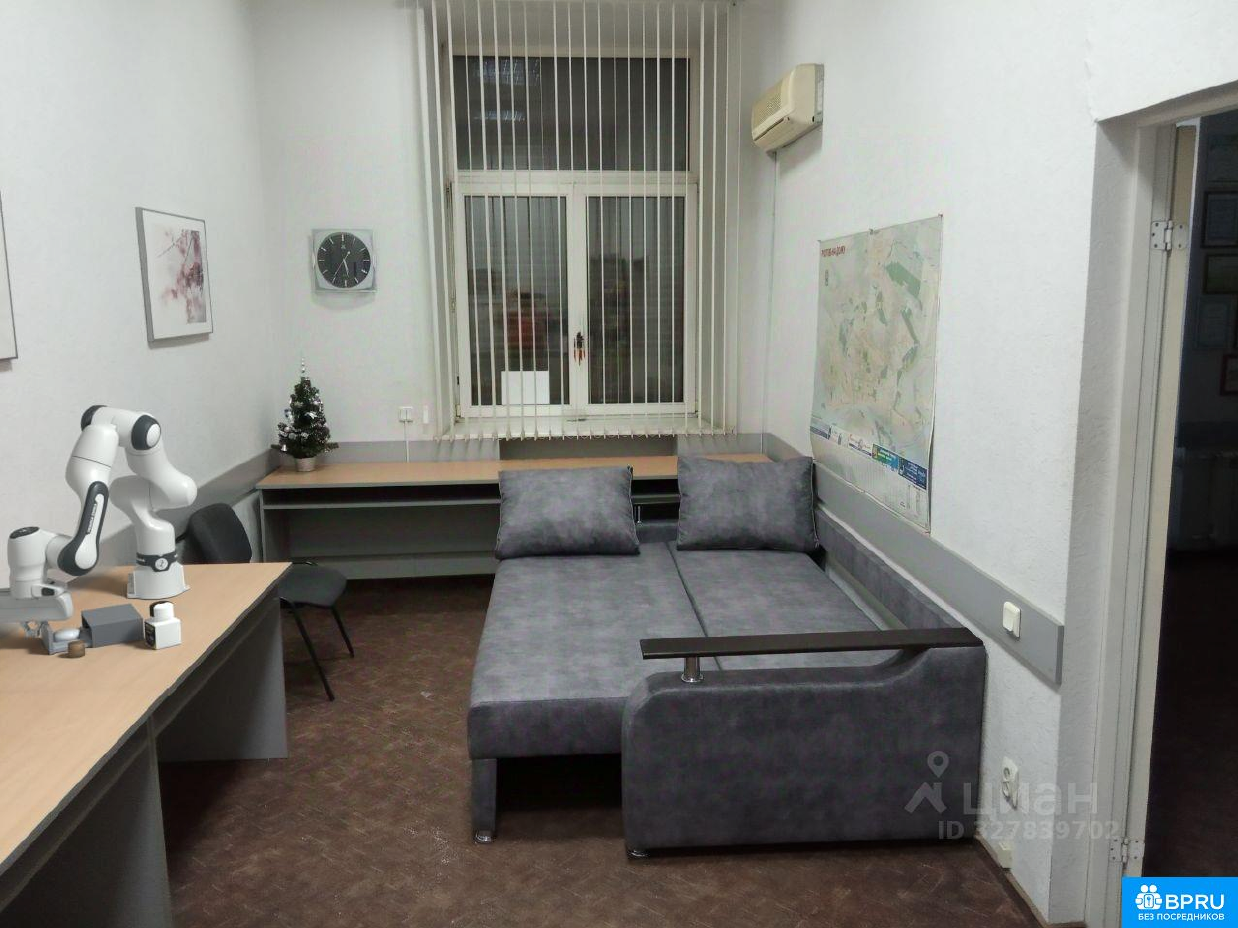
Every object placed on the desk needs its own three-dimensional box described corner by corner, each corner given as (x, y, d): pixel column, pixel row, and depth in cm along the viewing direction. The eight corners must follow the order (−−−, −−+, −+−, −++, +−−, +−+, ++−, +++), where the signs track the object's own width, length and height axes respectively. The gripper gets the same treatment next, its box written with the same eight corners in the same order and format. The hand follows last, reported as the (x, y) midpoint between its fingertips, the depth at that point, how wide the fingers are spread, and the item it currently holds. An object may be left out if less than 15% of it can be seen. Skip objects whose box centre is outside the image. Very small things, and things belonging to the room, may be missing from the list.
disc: (52, 637, 277) (52, 630, 277) (78, 633, 281) (78, 626, 280) (54, 644, 272) (54, 637, 272) (81, 640, 276) (80, 633, 275)
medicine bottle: (145, 643, 278) (142, 602, 276) (170, 637, 283) (168, 597, 281) (155, 650, 273) (153, 608, 271) (181, 644, 278) (179, 602, 276)
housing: (82, 631, 286) (80, 610, 285) (131, 623, 294) (130, 603, 293) (92, 647, 273) (91, 626, 272) (144, 639, 281) (142, 617, 280)
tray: (41, 638, 280) (39, 615, 278) (93, 629, 287) (91, 607, 286) (49, 654, 267) (48, 631, 266) (104, 645, 275) (102, 622, 274)
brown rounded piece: (67, 654, 268) (66, 642, 267) (84, 651, 270) (83, 639, 270) (69, 659, 265) (68, 646, 264) (86, 656, 267) (85, 643, 267)
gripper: (-19, 591, 264) (-14, 641, 267) (64, 589, 268) (68, 638, 270) (-8, 584, 270) (-4, 633, 273) (73, 583, 274) (76, 631, 276)
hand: (33, 636), depth 271 cm, fingers closed
